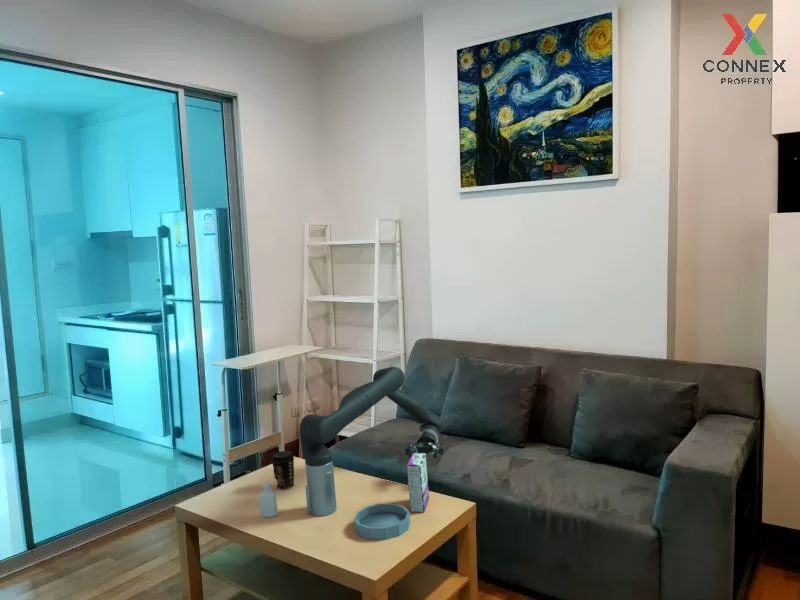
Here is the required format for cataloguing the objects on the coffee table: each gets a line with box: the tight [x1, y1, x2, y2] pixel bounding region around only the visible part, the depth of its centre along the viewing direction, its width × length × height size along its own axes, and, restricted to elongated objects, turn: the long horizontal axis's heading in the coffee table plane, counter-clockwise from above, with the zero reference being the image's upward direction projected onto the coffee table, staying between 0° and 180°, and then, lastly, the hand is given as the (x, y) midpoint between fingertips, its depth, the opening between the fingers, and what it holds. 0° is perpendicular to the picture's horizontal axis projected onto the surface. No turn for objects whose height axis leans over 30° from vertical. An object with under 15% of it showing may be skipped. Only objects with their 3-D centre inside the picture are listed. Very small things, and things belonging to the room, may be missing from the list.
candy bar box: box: [406, 452, 430, 513], centre depth 199 cm, size 11×5×16 cm, turn 168°
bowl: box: [353, 503, 411, 540], centre depth 186 cm, size 17×17×4 cm
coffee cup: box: [270, 450, 295, 491], centre depth 223 cm, size 9×8×13 cm
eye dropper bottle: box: [258, 480, 278, 518], centre depth 199 cm, size 4×6×12 cm
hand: (422, 456), depth 213 cm, fingers open, 8 cm apart
